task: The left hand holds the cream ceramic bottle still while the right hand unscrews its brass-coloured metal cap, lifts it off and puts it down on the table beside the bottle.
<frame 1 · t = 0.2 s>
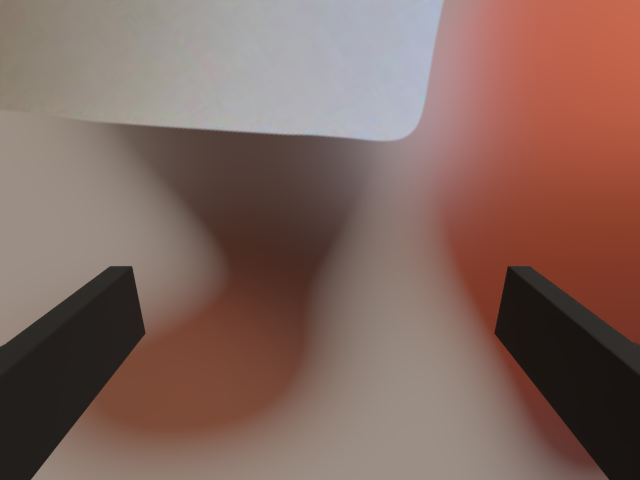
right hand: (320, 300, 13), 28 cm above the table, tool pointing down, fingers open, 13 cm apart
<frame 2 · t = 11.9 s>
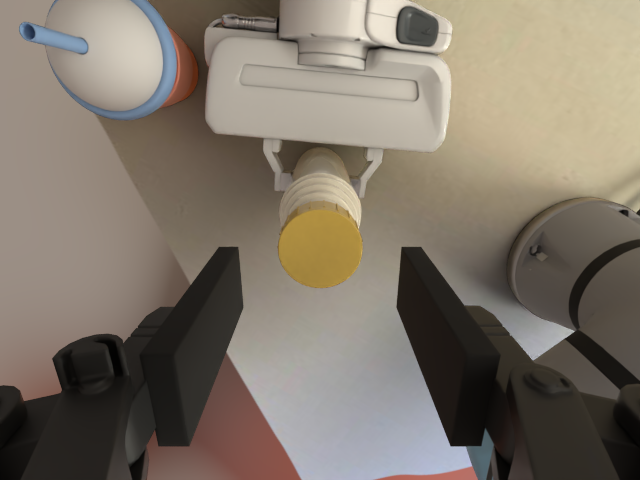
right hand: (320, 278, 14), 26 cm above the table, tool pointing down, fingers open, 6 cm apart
left hand: (319, 193, 33), fingers closed on bottle, 5 cm apart
cap: (320, 248, 17), point 23 cm above the table, screwed on, not yet turned
cup with straw: (168, 69, 35), on the table
bottle: (320, 172, 39), on the table, touching left hand
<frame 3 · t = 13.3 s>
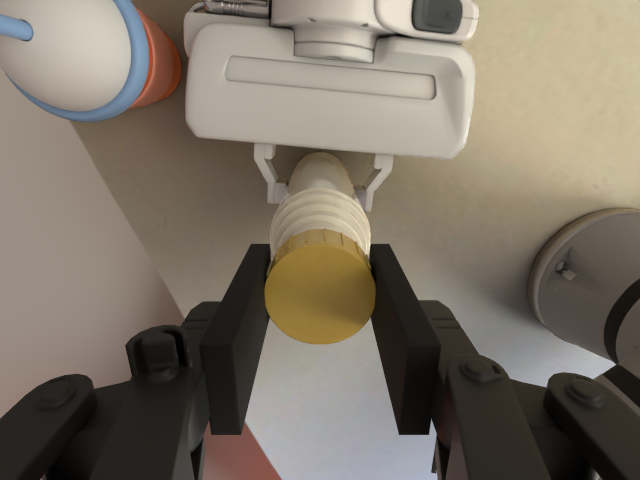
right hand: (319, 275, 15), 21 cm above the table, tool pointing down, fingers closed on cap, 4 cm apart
left hand: (319, 206, 29), fingers closed on bottle, 5 cm apart
cap: (320, 293, 13), point 23 cm above the table, screwed on, not yet turned, touching right hand
cup with straw: (147, 64, 31), on the table
bottle: (320, 179, 35), on the table, touching left hand
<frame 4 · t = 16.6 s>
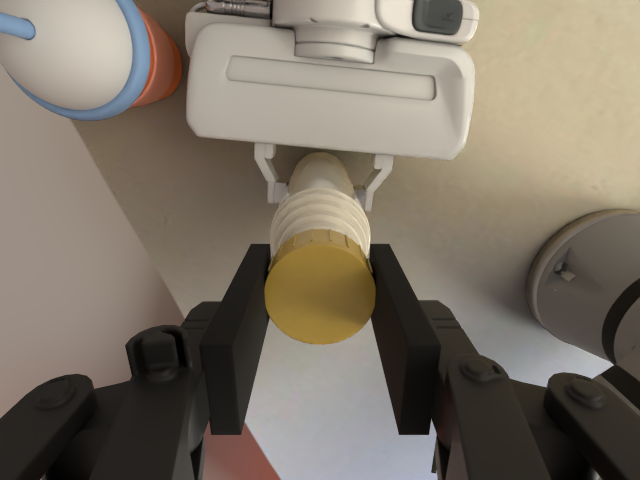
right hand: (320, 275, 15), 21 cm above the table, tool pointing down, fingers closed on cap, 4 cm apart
left hand: (319, 206, 29), fingers closed on bottle, 5 cm apart
cap: (320, 293, 13), point 23 cm above the table, turned 109° so far, risen 0.1 cm, still on its thread, touching right hand
cup with straw: (148, 63, 31), on the table
bottle: (320, 179, 35), on the table, touching left hand
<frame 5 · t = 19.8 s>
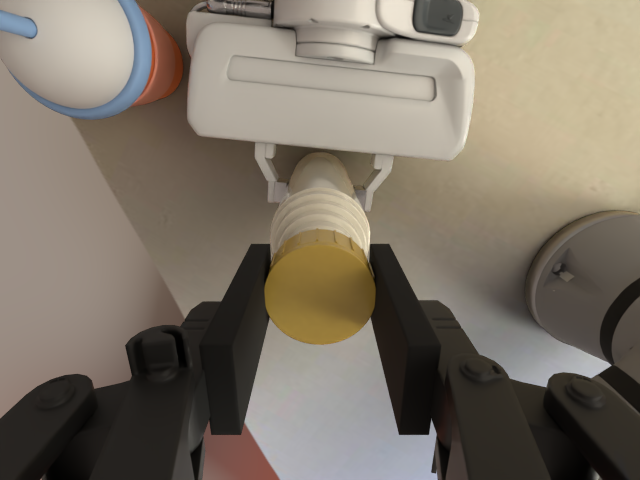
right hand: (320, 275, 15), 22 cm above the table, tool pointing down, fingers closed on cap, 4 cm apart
left hand: (319, 205, 29), fingers closed on bottle, 5 cm apart
cap: (320, 293, 13), point 23 cm above the table, turned 217° so far, risen 0.2 cm, still on its thread, touching right hand
cup with straw: (149, 62, 31), on the table
bottle: (320, 179, 35), on the table, touching left hand
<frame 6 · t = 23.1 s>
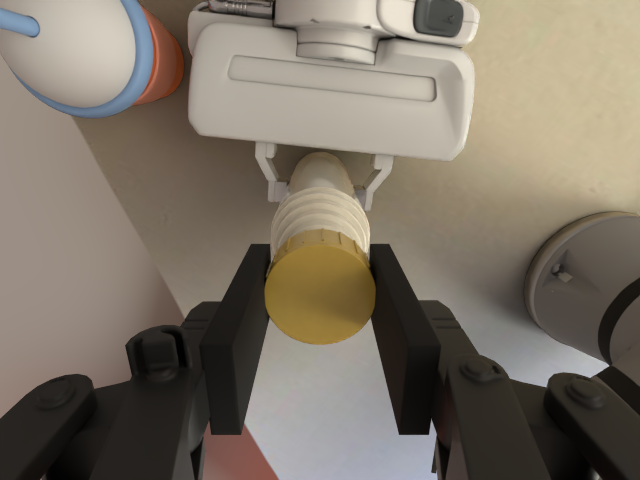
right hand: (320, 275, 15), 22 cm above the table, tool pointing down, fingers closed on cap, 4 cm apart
left hand: (319, 205, 29), fingers closed on bottle, 5 cm apart
cap: (320, 293, 13), point 23 cm above the table, turned 326° so far, risen 0.3 cm, still on its thread, touching right hand
cup with straw: (150, 61, 31), on the table
bottle: (320, 179, 35), on the table, touching left hand
when the right hand's fingers open (2 cm above the table, at t = 29.9 s): cap drops 2 cm, point 1 cm above the table.
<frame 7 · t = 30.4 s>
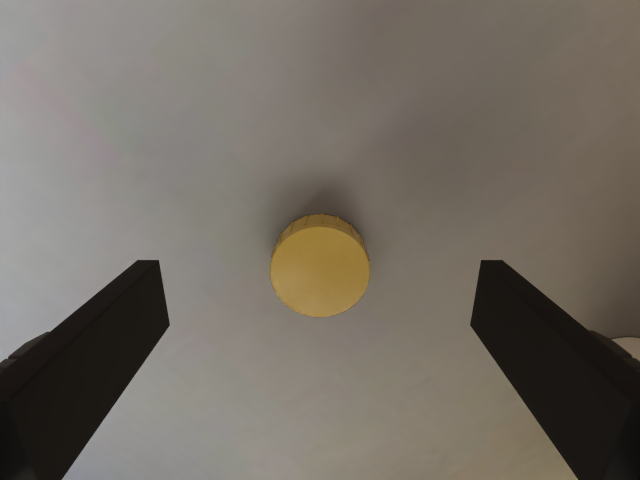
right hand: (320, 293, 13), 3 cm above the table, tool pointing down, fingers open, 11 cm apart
cap: (319, 271, 15), point 1 cm above the table, off its thread
bottle: (613, 380, 19), on the table, touching left hand
when the left hand's fingers open (7 cm above the table, at t = 31.3 s): bottle stays where it is, on the table.
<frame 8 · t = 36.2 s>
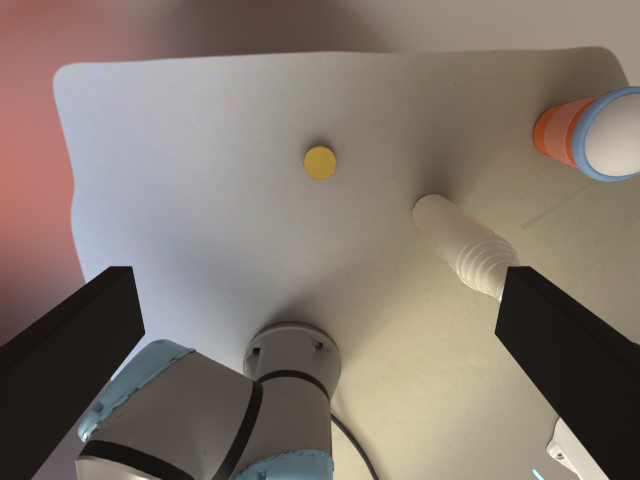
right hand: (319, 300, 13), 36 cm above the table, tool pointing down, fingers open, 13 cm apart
cap: (319, 163, 45), point 1 cm above the table, off its thread
cup with straw: (556, 130, 45), on the table
bottle: (431, 213, 49), on the table
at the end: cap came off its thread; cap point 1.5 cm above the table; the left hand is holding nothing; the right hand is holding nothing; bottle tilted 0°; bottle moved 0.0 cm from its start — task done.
